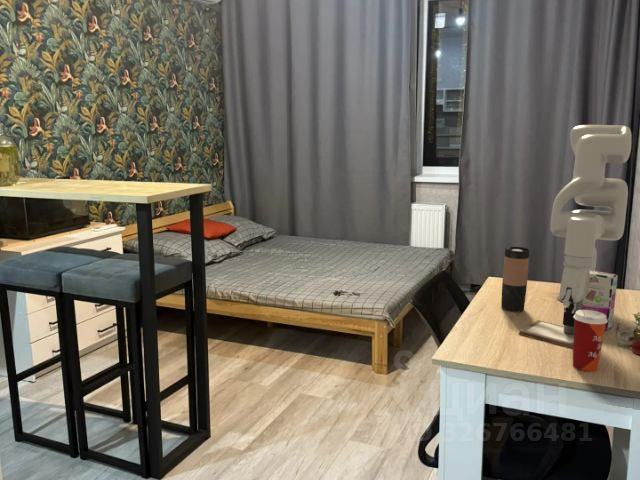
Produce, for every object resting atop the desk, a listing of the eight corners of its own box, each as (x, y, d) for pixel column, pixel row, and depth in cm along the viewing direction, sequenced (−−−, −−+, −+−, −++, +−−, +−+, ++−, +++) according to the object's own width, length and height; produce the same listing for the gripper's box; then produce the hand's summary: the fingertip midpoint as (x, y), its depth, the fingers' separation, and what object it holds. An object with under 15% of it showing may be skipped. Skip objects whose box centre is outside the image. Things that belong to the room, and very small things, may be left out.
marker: (566, 329, 168) (570, 286, 166) (581, 333, 165) (585, 289, 163) (560, 333, 165) (564, 289, 163) (575, 336, 162) (580, 292, 160)
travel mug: (526, 312, 186) (531, 252, 182) (501, 310, 188) (506, 250, 184) (523, 305, 194) (528, 247, 190) (499, 303, 195) (503, 245, 191)
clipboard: (537, 323, 177) (538, 317, 176) (592, 336, 166) (593, 330, 165) (519, 334, 167) (519, 327, 167) (575, 349, 157) (576, 342, 156)
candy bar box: (612, 327, 174) (619, 274, 171) (607, 331, 171) (613, 277, 167) (574, 318, 182) (580, 267, 178) (568, 322, 178) (574, 270, 175)
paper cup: (599, 376, 140) (606, 321, 137) (565, 368, 144) (571, 315, 141) (603, 365, 146) (609, 312, 143) (571, 358, 150) (576, 306, 147)
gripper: (575, 254, 170) (569, 314, 173) (553, 263, 158) (547, 327, 161) (602, 258, 165) (595, 320, 168) (581, 268, 153) (574, 334, 156)
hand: (571, 323), depth 165 cm, fingers closed on marker, 3 cm apart
